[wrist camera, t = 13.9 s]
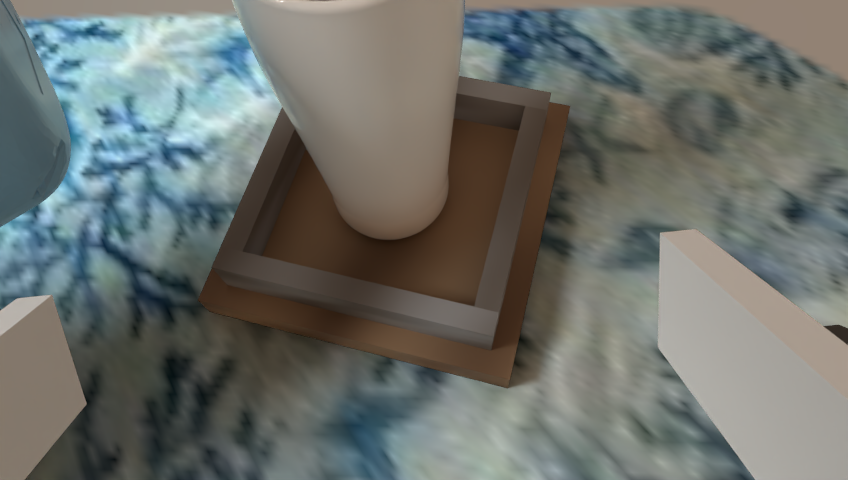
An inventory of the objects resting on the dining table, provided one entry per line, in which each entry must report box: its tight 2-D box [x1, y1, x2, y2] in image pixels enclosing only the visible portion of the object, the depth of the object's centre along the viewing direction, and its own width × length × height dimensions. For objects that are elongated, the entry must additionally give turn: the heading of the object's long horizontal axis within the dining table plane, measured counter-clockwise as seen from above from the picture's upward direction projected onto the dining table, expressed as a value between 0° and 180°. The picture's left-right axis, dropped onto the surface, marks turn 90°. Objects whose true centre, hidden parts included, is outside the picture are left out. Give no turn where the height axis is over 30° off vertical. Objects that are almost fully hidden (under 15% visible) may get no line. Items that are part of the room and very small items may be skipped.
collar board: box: [198, 76, 570, 388], centre depth 30 cm, size 14×14×4 cm
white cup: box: [232, 0, 465, 240], centre depth 24 cm, size 7×7×15 cm
